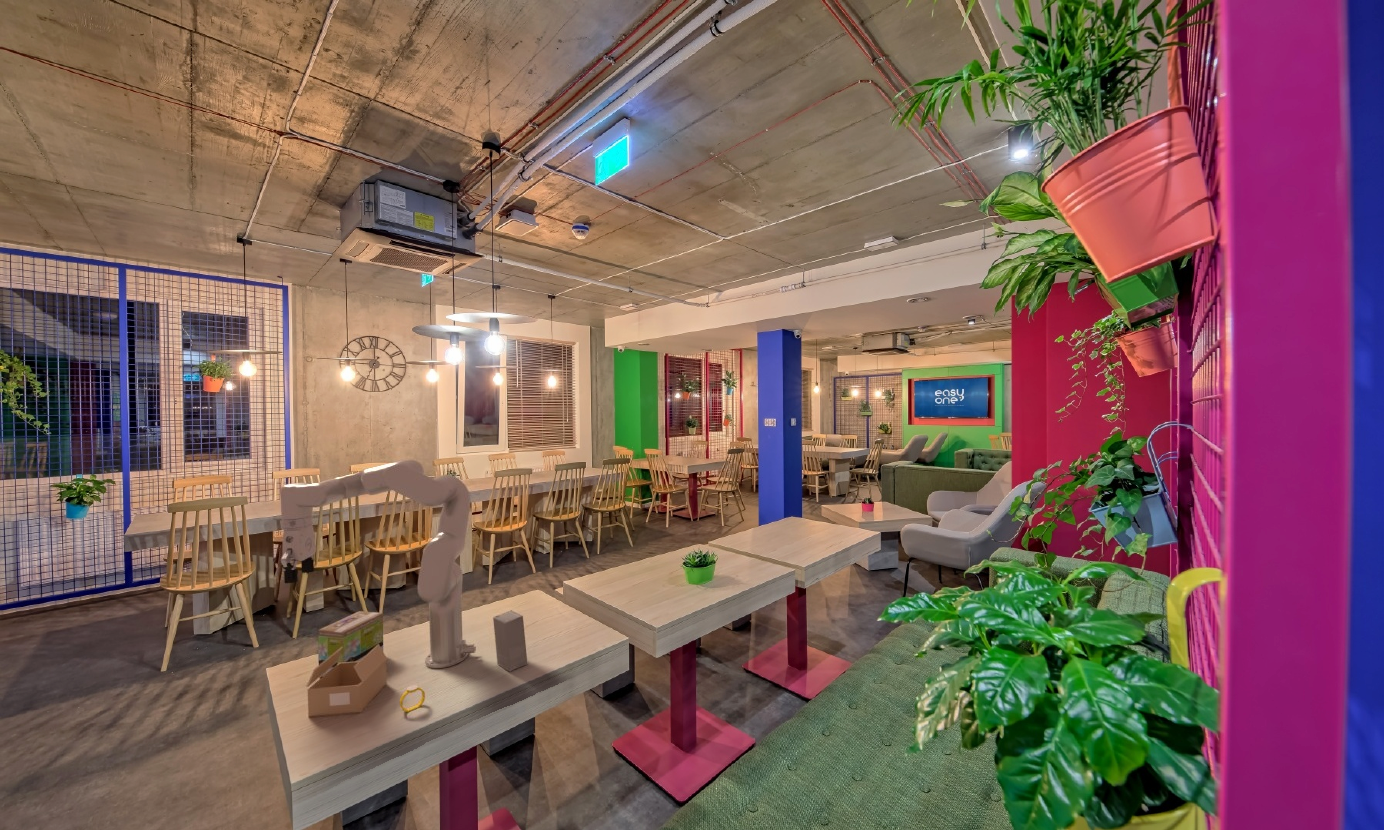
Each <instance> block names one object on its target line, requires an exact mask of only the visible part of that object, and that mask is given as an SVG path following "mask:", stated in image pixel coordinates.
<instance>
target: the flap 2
mask: <svg viewBox="0 0 1384 830" xmlns="http://www.w3.org/2000/svg"><path fill="white" fill-rule="evenodd" d="M387 659H388V658H387V656H386V655H385V653H384V650H383V651H382V649H381V647H380V645H379V644H378V645H377V646H376V647H375V648H374V649H372V650H371V651H370V652H369V653H368V654H367V655H366V656H365V657H364V658H363V659H362V660H360V661H359V662H358V663H357V664H356V665H355V666H354V669H355V670H356V672H357V674H358V676H359V678H360V679H361V681H362V683H363V682H364V681H365V680H366V679H367V678H368V677H369V676H370V675H371V674H372V673H373V672H374V671H375V670H376V669H377V668H378V667H379V666H380V665H381V664H382V663H383V662H384V661H385V660H386V661H387Z"/></svg>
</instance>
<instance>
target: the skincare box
mask: <svg viewBox="0 0 1384 830" xmlns="http://www.w3.org/2000/svg"><path fill="white" fill-rule="evenodd" d="M492 621H493V630H494V631H493V632H494V641H495V650H496V651H495V652H496V664H497V665H499V666H500V667H501V668H503V669H504V670H506V671H508V672H512V671H514V670H517V669H518V668H520V667H523V666H527V665H528V656H527V655H528V654H527V643H526V636H525V635H526V633H525V625H524V624H525V623H524V615H521V614H520V613H518V612H515V611H513V610H509V611H506V612H503V613H500V614H497V615H495V616H493V617H492Z"/></svg>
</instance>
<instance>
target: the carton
mask: <svg viewBox="0 0 1384 830" xmlns="http://www.w3.org/2000/svg"><path fill="white" fill-rule="evenodd" d="M358 662H359V661H355V662H342V663H338V664H337V665H336V666H335V667H334V668H332V669H331V670H330V671H329V672H328V673H326V674H325V675H324V676H323V677H322V676H321V678H318V679H317V680H316V681H315V683H313V684H311V685H310V687H309V688H307V710H308V713H307V715H308V718H315V717H317V718H318V717H319V718H320V717H328V716H329V717H330V716H340V715H352V714H361V713H362V712H363V710H365V708H366V707H368V705H369V704H370V703H371V702H372V701H373V700H374V699H375V697H377V696H378V694H379V693H380V692H381V691H382V690H383V689H384V687H386V686H387V659H386V660H385V661H384V662H383V663H382V664H381V665H380V666H379V667H378V668H377V669H376V670H375V671H374V672H373V673H372V674H371V675H370V676H369V677H368V678H367V679H366V680H365V681H364V682H363V683H362V681H361V679H360V678H359V676H358V674H357V672H356V670H355V669H354V666H355V665H356V664H357V663H358Z"/></svg>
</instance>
